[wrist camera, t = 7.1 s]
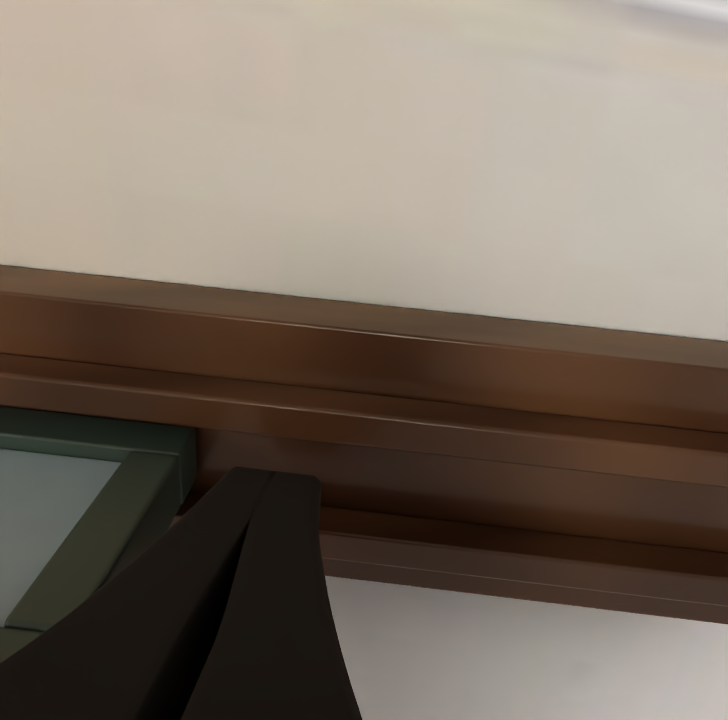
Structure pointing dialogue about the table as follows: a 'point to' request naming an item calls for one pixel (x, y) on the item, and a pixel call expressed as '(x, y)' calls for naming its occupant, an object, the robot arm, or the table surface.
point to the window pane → (79, 508)
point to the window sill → (415, 430)
